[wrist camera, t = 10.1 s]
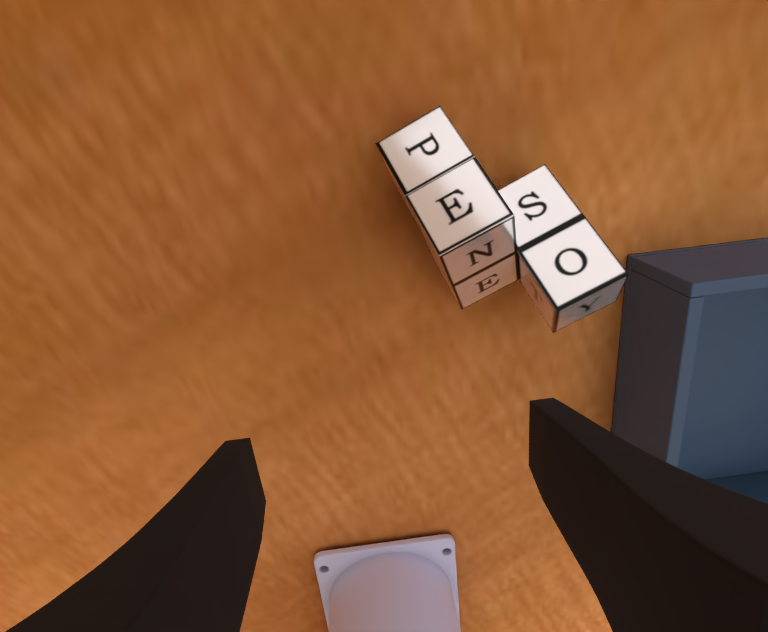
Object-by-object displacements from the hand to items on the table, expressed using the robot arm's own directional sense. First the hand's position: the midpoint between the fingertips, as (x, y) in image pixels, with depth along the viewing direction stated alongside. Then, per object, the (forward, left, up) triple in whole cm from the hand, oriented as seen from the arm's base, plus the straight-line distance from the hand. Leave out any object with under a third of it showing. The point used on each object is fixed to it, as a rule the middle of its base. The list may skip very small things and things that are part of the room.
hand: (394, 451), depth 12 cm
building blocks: (+4, -5, -11) cm, 12 cm away
